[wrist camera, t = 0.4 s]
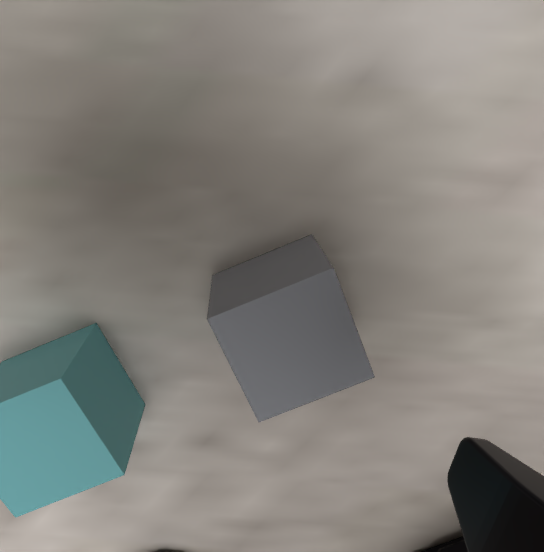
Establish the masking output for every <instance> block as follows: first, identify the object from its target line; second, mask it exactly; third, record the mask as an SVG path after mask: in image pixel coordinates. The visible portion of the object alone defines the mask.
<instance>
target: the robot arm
mask: <svg viewBox="0 0 544 552" xmlns="http://www.w3.org/2000/svg"><path fill="white" fill-rule="evenodd" d="M448 487H449V490H450V494H451V497H452V500H453V504H454V507H455V510H456V513H457V517H458V520H459V523H460V527H461V530H462V533H463V537H461V538H458V539H456V540H453V541H450V542H447V543H445V544H442V545H439V546H436V547H434V548H431V549H428V550H426V551H423V552H544V476H543V475H541V474H539V473H538V472H536V471H535V470H533V469H532V468H530V467H528V466H527V465H525V464H524V463H522V462H521V461H519V460H518V459H516V458H514V457H513V456H511V455H510V454H508V453H507V452H505V451H503V450H502V449H500V448H499V447H497V446H496V445H494V444H493V443H491V442H489V441H488V440H485V439H478V438H471V437H466V438H464V439H463V440H462V441H461V442H460V444H459V446H458V449H457V451H456V454H455V456H454V459H453V461H452V464H451V466H450V469H449V472H448Z"/></svg>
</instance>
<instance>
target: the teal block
mask: <svg viewBox="0 0 544 552" xmlns="http://www.w3.org/2000/svg"><path fill="white" fill-rule="evenodd" d="M144 407H145V403H144V402H143V400H142V398H141V397H140V395H139V393H138V392H137V390H136V388H135V387H134V385H133V383H132V382H131V380H130V378H129V377H128V375H127V373H126V372H125V370H124V368H123V367H122V365H121V363H120V362H119V360H118V358H117V357H116V355H115V353H114V352H113V350H112V348H111V347H110V345H109V343H108V342H107V340H106V338H105V337H104V335H103V333H102V332H101V330H100V328H99V327H98V325H97V323H95V324H92V325H90V326H88V327H85V328H83V329H80V330H78V331H75V332H73V333H71V334H68V335H66V336H63V337H61V338H58V339H56V340H54V341H51V342H49V343H46V344H44V345H41V346H39V347H37V348H34V349H32V350H29V351H27V352H24V353H22V354H20V355H17V356H15V357H12V358H10V359H7V360H5V361H2V362H1V363H0V499H1V500H2V502H3V503H4V504H5V505H6V506H7V508H8V509H9V510H10V511H11V513H12V514H13V515H14V516H15V517H18V516H21V515H23V514H26V513H28V512H31V511H33V510H36V509H38V508H41V507H44V506H46V505H49V504H51V503H54V502H56V501H59V500H61V499H64V498H67V497H69V496H72V495H74V494H77V493H79V492H82V491H84V490H87V489H90V488H92V487H95V486H97V485H100V484H102V483H105V482H107V481H110V480H113V479H115V478H118V477H120V476H123V475H124V474H125V471H126V468H127V464H128V461H129V458H130V454H131V451H132V447H133V444H134V441H135V437H136V434H137V430H138V427H139V424H140V420H141V417H142V414H143V410H144Z"/></svg>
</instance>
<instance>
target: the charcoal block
mask: <svg viewBox="0 0 544 552" xmlns="http://www.w3.org/2000/svg"><path fill="white" fill-rule="evenodd" d="M207 320H208V322H209V324H210V326H211V328H212V330H213V332H214V334H215V336H216V338H217V340H218V342H219V344H220V346H221V348H222V350H223V352H224V354H225V356H226V358H227V360H228V362H229V364H230V366H231V368H232V370H233V372H234V374H235V376H236V378H237V380H238V382H239V384H240V386H241V388H242V390H243V392H244V394H245V396H246V398H247V400H248V402H249V404H250V406H251V408H252V410H253V412H254V414H255V416H256V418H257V420H258V422H261V421H264V420H266V419H269V418H271V417H274V416H277V415H279V414H282V413H284V412H287V411H289V410H292V409H295V408H297V407H300V406H302V405H305V404H307V403H310V402H313V401H315V400H318V399H320V398H323V397H325V396H328V395H331V394H333V393H336V392H338V391H341V390H343V389H346V388H349V387H351V386H354V385H356V384H359V383H361V382H364V381H366V380H369V379H372V378H374V377H375V376H374V374H373V371H372V368H371V366H370V363H369V360H368V358H367V355H366V352H365V350H364V347H363V344H362V342H361V339H360V336H359V334H358V331H357V329H356V326H355V323H354V321H353V318H352V315H351V313H350V310H349V307H348V305H347V302H346V299H345V297H344V294H343V291H342V289H341V286H340V283H339V281H338V278H337V276H336V273H335V270H334V268H333V266H332V265H331V263H330V261H329V260H328V258H327V257H326V255H325V254H324V252H323V251H322V249H321V247H320V246H319V244H318V243H317V241H316V240H315V238H314V237H313V235H312V234H311V235H309V236H306V237H304V238H302V239H299V240H297V241H294V242H292V243H289V244H287V245H285V246H282V247H280V248H277V249H275V250H272V251H270V252H268V253H265V254H263V255H260V256H258V257H255V258H253V259H251V260H248V261H246V262H243V263H241V264H238V265H236V266H234V267H231V268H229V269H226V270H224V271H221V272H219V273H216V274H214V275H212V283H211V291H210V299H209V307H208V315H207Z"/></svg>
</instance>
